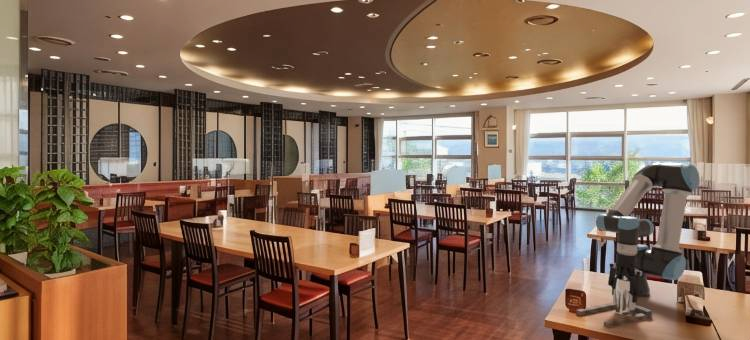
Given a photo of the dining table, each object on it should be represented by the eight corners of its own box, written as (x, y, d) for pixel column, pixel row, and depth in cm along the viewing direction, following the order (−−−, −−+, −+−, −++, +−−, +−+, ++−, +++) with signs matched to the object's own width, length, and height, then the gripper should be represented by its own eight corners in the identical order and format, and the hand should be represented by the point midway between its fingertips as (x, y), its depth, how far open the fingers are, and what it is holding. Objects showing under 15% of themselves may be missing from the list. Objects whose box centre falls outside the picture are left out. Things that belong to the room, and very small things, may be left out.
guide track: (618, 305, 195) (619, 298, 195) (651, 317, 182) (652, 310, 181) (576, 313, 184) (576, 307, 184) (608, 328, 171) (608, 320, 170)
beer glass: (635, 317, 181) (637, 282, 180) (617, 315, 183) (619, 280, 182) (629, 310, 188) (631, 276, 187) (611, 309, 190) (613, 275, 188)
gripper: (600, 248, 191) (597, 299, 193) (643, 260, 173) (640, 316, 175) (611, 247, 194) (609, 297, 196) (655, 258, 176) (652, 313, 178)
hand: (623, 306), depth 185 cm, fingers closed on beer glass, 7 cm apart
